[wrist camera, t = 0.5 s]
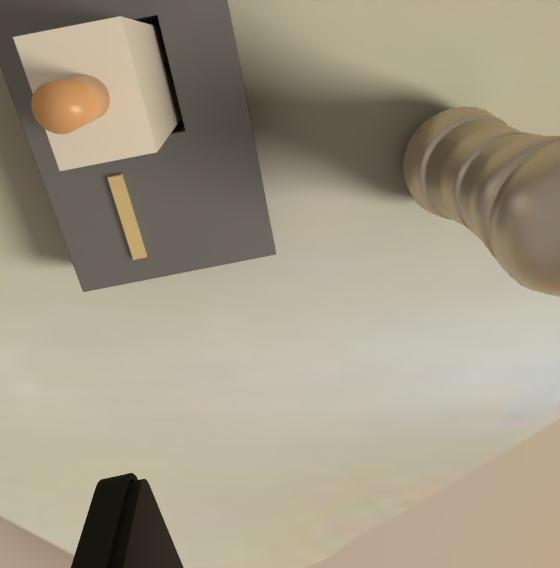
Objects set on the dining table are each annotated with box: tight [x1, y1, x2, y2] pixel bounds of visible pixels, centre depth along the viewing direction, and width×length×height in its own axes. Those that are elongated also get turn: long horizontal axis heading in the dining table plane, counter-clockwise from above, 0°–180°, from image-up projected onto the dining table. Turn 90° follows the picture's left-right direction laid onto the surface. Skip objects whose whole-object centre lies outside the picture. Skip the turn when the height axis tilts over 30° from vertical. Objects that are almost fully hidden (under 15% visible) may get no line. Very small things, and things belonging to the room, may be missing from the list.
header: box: [0, 0, 276, 292], centre depth 30 cm, size 22×12×4 cm, turn 10°
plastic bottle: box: [403, 107, 560, 296], centre depth 26 cm, size 6×7×20 cm
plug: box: [13, 16, 182, 171], centre depth 24 cm, size 5×4×16 cm
